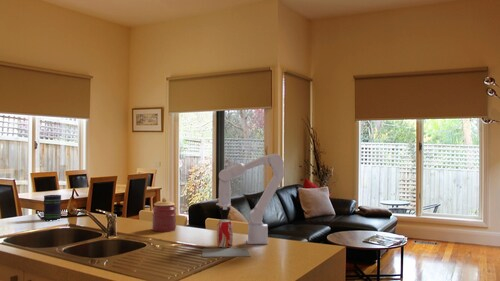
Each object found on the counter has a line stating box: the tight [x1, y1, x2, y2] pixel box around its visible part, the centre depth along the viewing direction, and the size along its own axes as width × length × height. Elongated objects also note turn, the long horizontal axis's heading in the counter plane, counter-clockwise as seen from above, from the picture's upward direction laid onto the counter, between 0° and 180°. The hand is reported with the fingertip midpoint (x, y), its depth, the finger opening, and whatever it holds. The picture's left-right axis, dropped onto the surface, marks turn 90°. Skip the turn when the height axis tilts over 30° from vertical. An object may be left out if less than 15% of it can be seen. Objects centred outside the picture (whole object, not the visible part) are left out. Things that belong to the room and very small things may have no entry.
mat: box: [201, 247, 251, 258], centre depth 181 cm, size 20×14×1 cm
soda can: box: [216, 219, 234, 248], centre depth 193 cm, size 7×7×12 cm
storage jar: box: [43, 194, 62, 221], centre depth 260 cm, size 10×10×15 cm
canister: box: [151, 197, 177, 233], centre depth 232 cm, size 13×13×18 cm
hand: (224, 222), depth 202 cm, fingers closed
